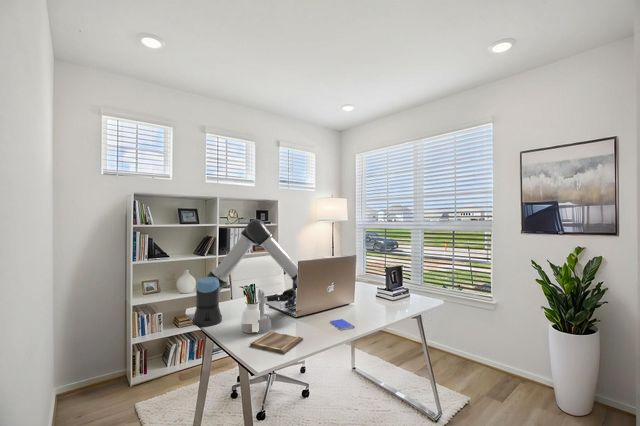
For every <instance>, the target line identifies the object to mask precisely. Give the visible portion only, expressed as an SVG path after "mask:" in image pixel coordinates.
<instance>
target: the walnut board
mask: <svg viewBox="0 0 640 426" xmlns="http://www.w3.org/2000/svg"><path fill="white" fill-rule="evenodd" d="M303 341H304V338H303V337H301V336H296V335H291V334H287V333H280V332H276V331H269V332H266V333H265V334H264V335H262V336H260V337H259V338H257V339H255V340H253V341H252V342H250V343H249V346H250V347H252V348H256V349H261V350H265V351H269V352H274V353H278V354H282V355H285V354H287V353H288V352H290V351H291V350H292V349H294V348H295V347H297V345H299V344H300V343H302V342H303Z"/></svg>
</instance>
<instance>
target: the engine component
mask: <svg viewBox="0 0 640 426" xmlns="http://www.w3.org/2000/svg"><path fill="white" fill-rule="evenodd" d="M265 296H266V295H265V290H264V288H259V289H258V291H257V301H258V311H259V310H260V320H258V323H259V331H258V333H257V334H267V333H269V332H272V322H271V320H272V319H271V318H269V315H268V314H267V313H265V310H264V309H265V307H264V305H265V304H264V301H265Z"/></svg>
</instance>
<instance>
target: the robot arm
mask: <svg viewBox="0 0 640 426" xmlns="http://www.w3.org/2000/svg"><path fill="white" fill-rule="evenodd" d="M253 246H258V247H262V248H263V249H264V251H266V252H267V253H268V254H269V256H270V257H271V258H272V259H273V260H274V261H275V262H276V263H277V265H278V266H279V267H280V268H281V269H282V270H283V271H284V272H285V273H286V274H287V275H288V276H289V278H290V279H291V281H292V287H291V288H288V289H286V290H284V291H283V292H282V293H281V294H278V293H274V294H272V295H271V294H270V295H264V296H265V301H264V305H265V304H267V303H269V302H270V303H271V302H281V303H280V306H279V307H280V308H279V309H280V310H282V309H284V308H286V307H288V306H293V307H294V306H295V303H296V302H297V300H296V288H297V273H298V265H297V264H296V262H295V261H294V260H293V259H292V258H291V257H290V256H289V255H288V253H287V252H286V251H285V250H284V249H283V248H282V247H281V246H280V245H279V243H278V242H277V241H276V240H275V239H274V238H273V234H272V233H271V232H270V230H269V229H268V228H267V225H266V223H265V222H264V221H262V220H261V219H258V218H256V219H255V218H253V219H252V220H250V221H249V222H248V223H247V225H246V226H245V227H244V229H243V230H242V231H241V232H240V238H239V239H238V240H237V241H236V243H235V244H234V245H233V247H231V249H230V251H229V252H228V253H227V254H226V255H225V257H224V258H223V259H222V260H221V262H220V263H219V264H218V266H217V267H216V268H214V269H211V270H210V271H209V273H208V274H207V276H204V277H200V278H199V279H197V281H196V284H195V289H196V291H195V292H196V294H195V295H196V298H195V302H196V304H195V312H194V315H193V318H192V325H193V326H196V327H212V326H214V325H218V324H220V323H222V321H223V316H222V314H221V309H220V306H219V305H220V302H219V301H220V292H221V291H222V289H223V288H224V286H226V284H227V283H228V282H229V281H228V277H229V276H230V275H231V274H232V272H233V271H234V270H235V269H236V267H237V266H238V265H239V264H240V262H241V261H242V260H243V258H244V257H245V256H246V255H247V253H248V252H249V251H250V250H251V248H252V247H253Z"/></svg>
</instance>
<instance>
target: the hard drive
mask: <svg viewBox="0 0 640 426" xmlns="http://www.w3.org/2000/svg"><path fill="white" fill-rule="evenodd" d="M329 323H330V324H331V325H333V326H334V327H336V328H337V329H338V330H339V331H345V330H350V329H355V328H356V327H355V326H354V325H353V324H351V323H350V322H349V321H346V320H345V319H343V318H340V319H335V320H330V321H329Z"/></svg>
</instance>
